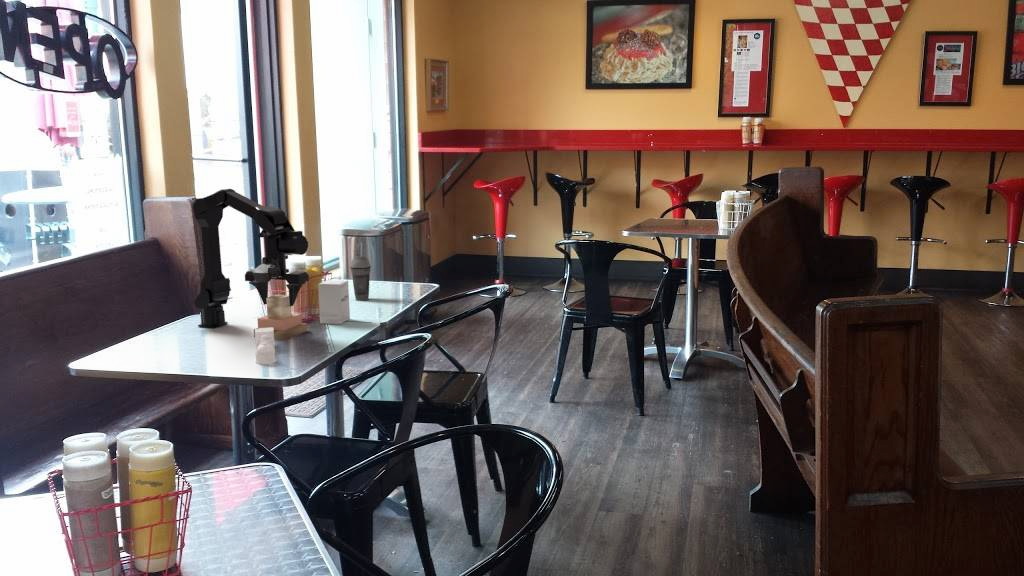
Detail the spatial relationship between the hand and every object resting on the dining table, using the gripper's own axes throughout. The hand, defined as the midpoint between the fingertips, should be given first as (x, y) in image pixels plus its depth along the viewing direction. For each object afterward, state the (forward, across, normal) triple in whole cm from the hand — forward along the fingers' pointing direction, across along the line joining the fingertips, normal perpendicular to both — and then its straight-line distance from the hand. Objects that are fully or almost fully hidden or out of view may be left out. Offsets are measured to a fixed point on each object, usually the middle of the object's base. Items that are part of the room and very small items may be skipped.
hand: (278, 305), depth 263 cm
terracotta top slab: (+6, 0, 0) cm, 6 cm away
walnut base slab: (+9, 0, 0) cm, 9 cm away
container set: (+9, +10, -21) cm, 25 cm away
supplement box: (+9, +7, +19) cm, 22 cm away
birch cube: (+3, 0, 0) cm, 3 cm away
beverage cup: (+9, -2, +51) cm, 52 cm away
